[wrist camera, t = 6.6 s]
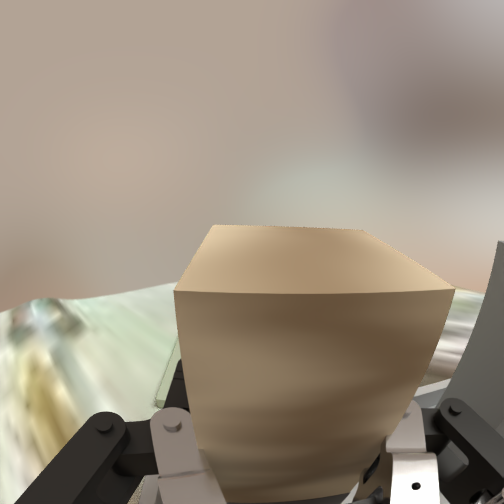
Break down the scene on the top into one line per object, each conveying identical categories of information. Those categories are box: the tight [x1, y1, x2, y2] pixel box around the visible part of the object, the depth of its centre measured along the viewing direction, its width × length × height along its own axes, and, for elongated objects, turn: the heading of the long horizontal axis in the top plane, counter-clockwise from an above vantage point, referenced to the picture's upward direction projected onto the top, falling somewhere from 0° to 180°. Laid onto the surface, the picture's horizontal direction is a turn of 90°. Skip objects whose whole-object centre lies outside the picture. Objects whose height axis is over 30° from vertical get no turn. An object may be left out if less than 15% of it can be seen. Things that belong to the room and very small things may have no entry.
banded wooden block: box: [174, 225, 456, 504], centre depth 8 cm, size 5×5×14 cm
